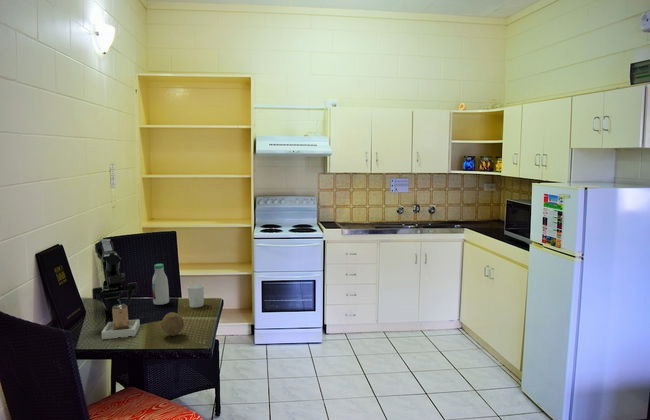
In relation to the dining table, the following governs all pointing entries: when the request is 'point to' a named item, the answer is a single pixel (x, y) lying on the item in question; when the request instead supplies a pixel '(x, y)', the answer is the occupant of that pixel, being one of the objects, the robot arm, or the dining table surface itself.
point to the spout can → (120, 317)
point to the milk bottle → (160, 286)
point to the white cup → (196, 295)
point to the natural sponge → (172, 323)
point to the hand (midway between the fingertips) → (117, 307)
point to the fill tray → (111, 333)
